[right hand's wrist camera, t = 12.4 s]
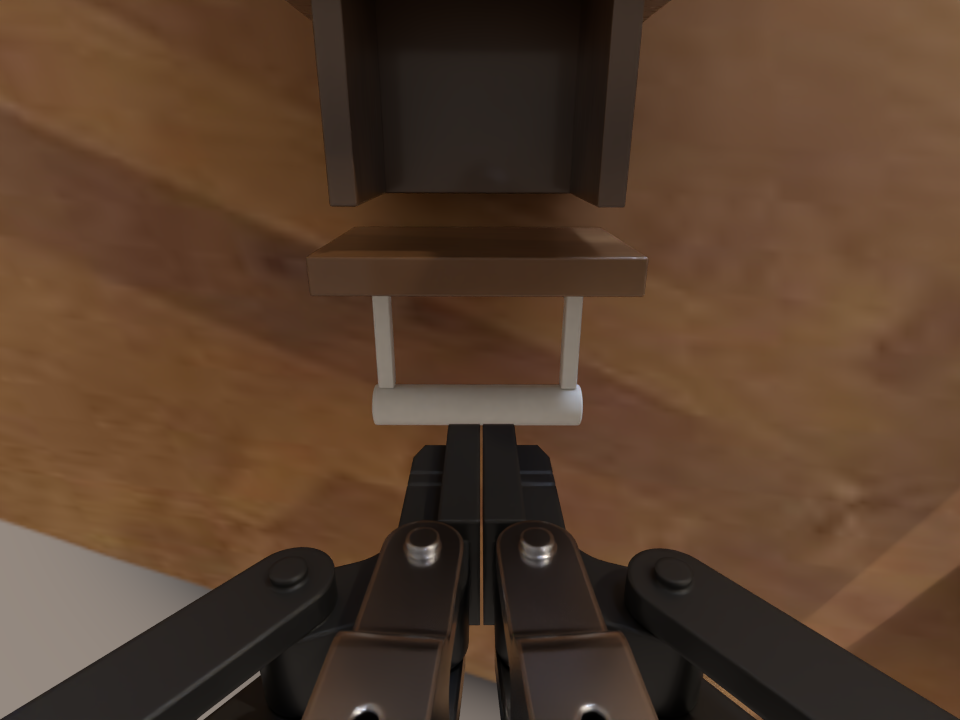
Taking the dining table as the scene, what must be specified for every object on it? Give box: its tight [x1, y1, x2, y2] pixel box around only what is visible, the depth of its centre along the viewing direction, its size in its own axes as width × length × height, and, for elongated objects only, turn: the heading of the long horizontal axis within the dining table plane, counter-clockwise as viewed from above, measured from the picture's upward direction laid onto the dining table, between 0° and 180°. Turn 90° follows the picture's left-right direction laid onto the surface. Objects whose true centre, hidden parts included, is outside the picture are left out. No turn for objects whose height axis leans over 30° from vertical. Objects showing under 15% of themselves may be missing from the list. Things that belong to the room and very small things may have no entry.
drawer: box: [306, 0, 648, 425], centre depth 17 cm, size 25×10×7 cm, turn 0°
